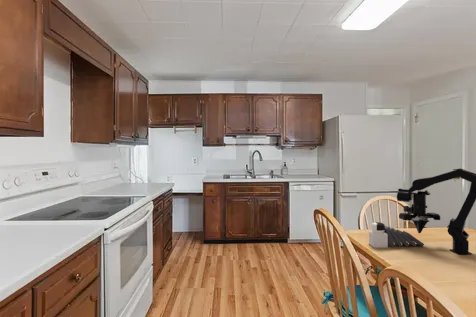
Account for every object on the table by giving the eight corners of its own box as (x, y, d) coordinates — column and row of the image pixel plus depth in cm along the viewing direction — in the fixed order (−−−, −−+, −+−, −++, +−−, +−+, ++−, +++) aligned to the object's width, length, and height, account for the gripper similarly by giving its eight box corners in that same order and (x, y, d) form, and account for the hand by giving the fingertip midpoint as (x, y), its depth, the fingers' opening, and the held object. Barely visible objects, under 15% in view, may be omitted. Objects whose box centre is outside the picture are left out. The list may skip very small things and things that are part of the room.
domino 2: (402, 245, 161) (392, 228, 161) (399, 247, 161) (389, 230, 161) (397, 242, 166) (388, 226, 166) (394, 244, 166) (385, 228, 166)
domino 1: (394, 246, 161) (389, 227, 161) (391, 247, 161) (386, 228, 161) (390, 243, 166) (384, 225, 166) (387, 244, 166) (381, 226, 166)
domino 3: (409, 245, 161) (397, 230, 161) (407, 247, 161) (394, 232, 161) (404, 242, 166) (392, 227, 166) (402, 244, 166) (389, 229, 166)
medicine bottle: (382, 243, 167) (382, 221, 166) (387, 248, 160) (387, 224, 159) (368, 243, 167) (368, 221, 167) (373, 247, 160) (373, 224, 160)
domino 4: (416, 244, 161) (402, 231, 161) (414, 246, 161) (400, 234, 161) (411, 241, 166) (397, 229, 166) (409, 244, 166) (395, 231, 166)
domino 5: (424, 244, 161) (408, 233, 161) (422, 246, 161) (406, 235, 161) (418, 241, 166) (403, 230, 166) (417, 243, 166) (401, 233, 166)
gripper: (427, 200, 171) (427, 228, 172) (393, 200, 171) (393, 229, 171) (441, 203, 160) (441, 234, 160) (404, 204, 160) (404, 234, 160)
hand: (419, 232), depth 163 cm, fingers closed
